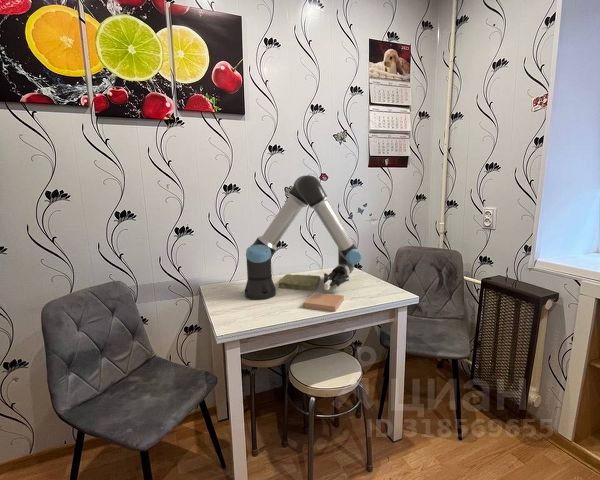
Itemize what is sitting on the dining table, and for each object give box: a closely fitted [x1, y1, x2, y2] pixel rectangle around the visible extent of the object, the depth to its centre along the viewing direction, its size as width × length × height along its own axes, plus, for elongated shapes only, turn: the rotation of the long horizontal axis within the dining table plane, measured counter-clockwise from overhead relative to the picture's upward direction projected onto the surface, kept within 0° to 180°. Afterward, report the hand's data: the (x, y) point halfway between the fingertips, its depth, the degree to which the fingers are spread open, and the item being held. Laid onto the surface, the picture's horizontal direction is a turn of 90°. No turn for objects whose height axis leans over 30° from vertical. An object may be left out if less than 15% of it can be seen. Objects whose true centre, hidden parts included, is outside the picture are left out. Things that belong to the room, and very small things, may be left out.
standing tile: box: [303, 292, 345, 313], centre depth 144 cm, size 14×3×14 cm
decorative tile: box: [278, 273, 322, 291], centre depth 172 cm, size 19×20×4 cm
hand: (326, 286), depth 145 cm, fingers closed
